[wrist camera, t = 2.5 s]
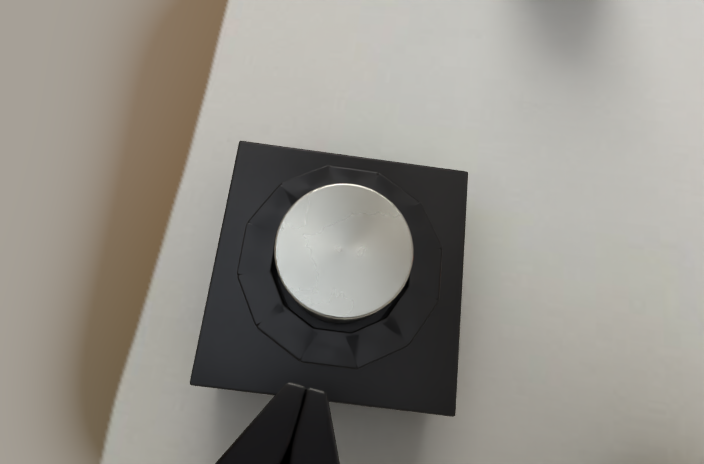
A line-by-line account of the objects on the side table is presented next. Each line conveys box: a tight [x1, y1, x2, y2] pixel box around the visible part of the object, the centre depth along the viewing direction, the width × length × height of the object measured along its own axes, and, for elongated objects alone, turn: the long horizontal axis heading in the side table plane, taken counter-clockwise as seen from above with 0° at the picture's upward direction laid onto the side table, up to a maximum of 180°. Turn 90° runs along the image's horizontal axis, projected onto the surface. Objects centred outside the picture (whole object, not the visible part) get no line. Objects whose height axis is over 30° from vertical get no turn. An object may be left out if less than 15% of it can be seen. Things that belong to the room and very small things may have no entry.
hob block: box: [190, 141, 468, 417], centre depth 18 cm, size 10×10×6 cm
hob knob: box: [274, 183, 414, 324], centre depth 15 cm, size 4×4×3 cm
